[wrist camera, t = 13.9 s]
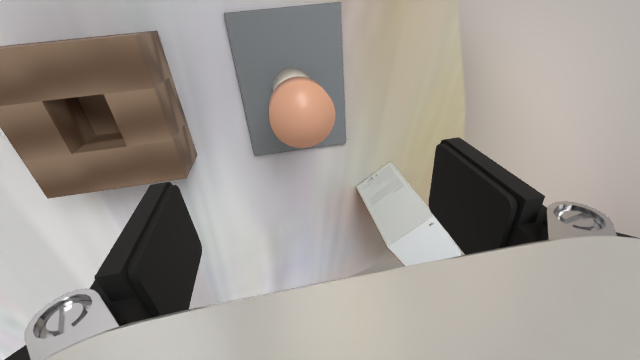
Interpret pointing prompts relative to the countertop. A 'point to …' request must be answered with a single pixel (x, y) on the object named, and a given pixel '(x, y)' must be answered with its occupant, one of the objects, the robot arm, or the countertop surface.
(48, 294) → the countertop surface
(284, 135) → the plug
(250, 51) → the mat
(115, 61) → the socket block
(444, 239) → the small box
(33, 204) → the countertop surface
